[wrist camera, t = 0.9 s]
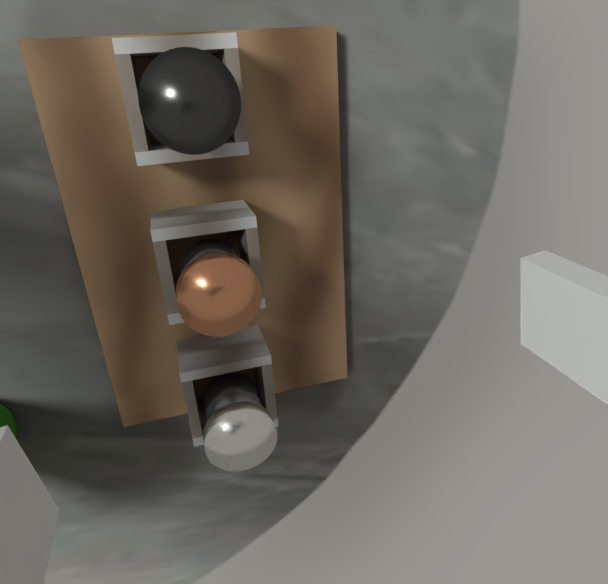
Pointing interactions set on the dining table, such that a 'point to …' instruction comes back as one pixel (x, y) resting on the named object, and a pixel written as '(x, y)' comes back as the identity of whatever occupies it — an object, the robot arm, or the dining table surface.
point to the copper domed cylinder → (216, 289)
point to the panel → (201, 211)
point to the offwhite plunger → (236, 424)
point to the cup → (7, 420)
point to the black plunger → (189, 100)
